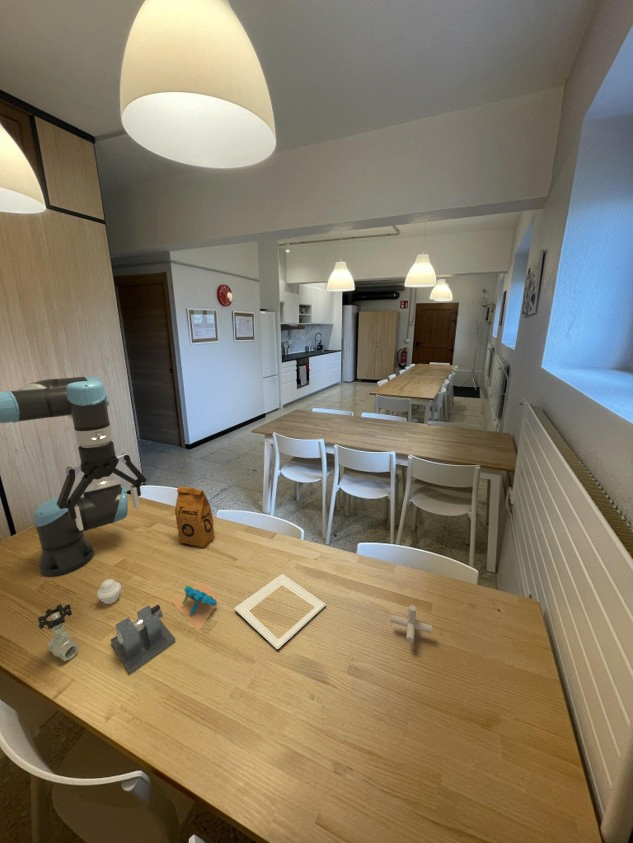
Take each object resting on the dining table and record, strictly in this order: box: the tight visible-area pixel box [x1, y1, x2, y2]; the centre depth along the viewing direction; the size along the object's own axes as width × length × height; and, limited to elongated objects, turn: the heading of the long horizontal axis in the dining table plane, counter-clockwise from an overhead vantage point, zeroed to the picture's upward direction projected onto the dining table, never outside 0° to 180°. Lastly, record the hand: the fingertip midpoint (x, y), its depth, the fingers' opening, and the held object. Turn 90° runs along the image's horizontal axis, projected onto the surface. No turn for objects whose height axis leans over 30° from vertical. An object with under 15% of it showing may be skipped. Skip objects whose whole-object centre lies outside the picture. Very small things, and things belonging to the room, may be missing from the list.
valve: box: [37, 604, 80, 662], centre depth 80 cm, size 7×7×12 cm
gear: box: [182, 584, 218, 615], centre depth 94 cm, size 11×6×10 cm
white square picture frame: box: [233, 573, 327, 650], centre depth 94 cm, size 19×19×2 cm
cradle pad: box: [171, 582, 221, 632], centre depth 96 cm, size 15×10×1 cm, turn 49°
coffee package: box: [174, 486, 215, 548], centre depth 123 cm, size 10×12×22 cm
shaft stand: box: [110, 604, 176, 675], centre depth 83 cm, size 12×11×8 cm
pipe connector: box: [390, 604, 433, 644], centre depth 84 cm, size 10×10×10 cm
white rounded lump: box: [96, 578, 122, 605], centre depth 97 cm, size 6×6×7 cm
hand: (109, 517), depth 89 cm, fingers open, 13 cm apart
